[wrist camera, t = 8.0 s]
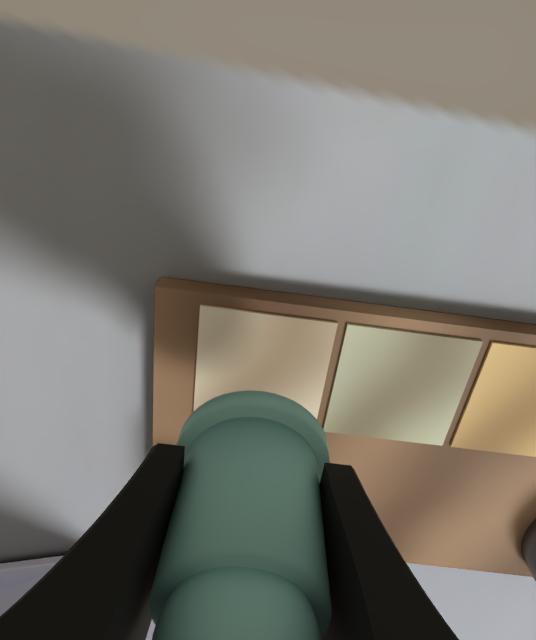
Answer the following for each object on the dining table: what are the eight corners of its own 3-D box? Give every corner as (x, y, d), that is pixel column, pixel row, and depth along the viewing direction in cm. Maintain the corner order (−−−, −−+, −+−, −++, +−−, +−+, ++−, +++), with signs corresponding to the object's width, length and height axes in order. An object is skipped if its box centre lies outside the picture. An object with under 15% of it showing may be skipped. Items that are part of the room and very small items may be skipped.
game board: (156, 517, 19) (146, 549, 18) (160, 276, 14) (148, 296, 13) (615, 569, 20) (639, 604, 18) (773, 354, 15) (822, 381, 13)
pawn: (203, 513, 13) (144, 825, 7) (157, 404, 11) (38, 703, 6) (339, 494, 12) (384, 812, 7) (313, 377, 10) (345, 676, 5)
